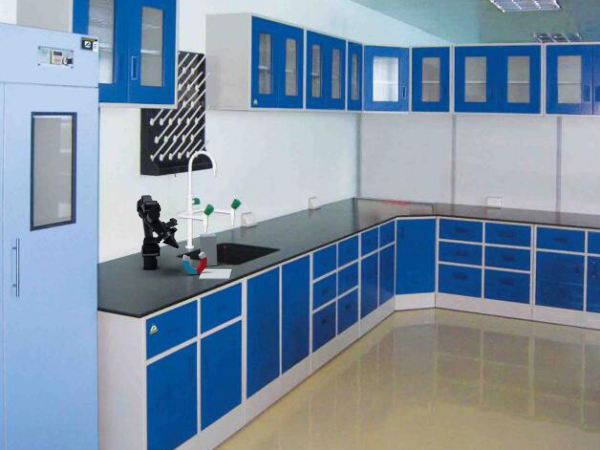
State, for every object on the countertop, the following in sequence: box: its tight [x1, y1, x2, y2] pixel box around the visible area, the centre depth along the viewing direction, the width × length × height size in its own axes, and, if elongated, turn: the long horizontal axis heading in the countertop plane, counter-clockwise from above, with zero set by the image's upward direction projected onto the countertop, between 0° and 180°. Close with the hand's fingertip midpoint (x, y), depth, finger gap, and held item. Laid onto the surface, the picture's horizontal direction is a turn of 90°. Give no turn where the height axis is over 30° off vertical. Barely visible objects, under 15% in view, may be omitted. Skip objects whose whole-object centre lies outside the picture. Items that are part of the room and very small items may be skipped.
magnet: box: [181, 251, 207, 275], centre depth 369 cm, size 12×3×10 cm, turn 117°
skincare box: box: [199, 233, 218, 267], centre depth 390 cm, size 8×7×16 cm
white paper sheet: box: [198, 268, 233, 280], centre depth 370 cm, size 14×20×1 cm
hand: (178, 248), depth 369 cm, fingers closed
